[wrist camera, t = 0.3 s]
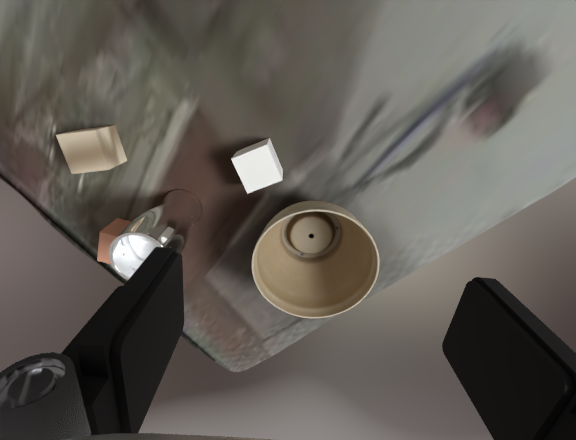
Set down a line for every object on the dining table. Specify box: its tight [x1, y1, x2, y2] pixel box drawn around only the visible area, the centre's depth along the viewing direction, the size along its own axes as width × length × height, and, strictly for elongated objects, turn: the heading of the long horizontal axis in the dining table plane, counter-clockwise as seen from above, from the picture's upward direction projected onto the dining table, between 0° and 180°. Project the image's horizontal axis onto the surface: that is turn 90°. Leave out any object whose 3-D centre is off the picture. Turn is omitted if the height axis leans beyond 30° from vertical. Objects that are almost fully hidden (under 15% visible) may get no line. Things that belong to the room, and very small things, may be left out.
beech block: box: [56, 125, 127, 174], centre depth 41 cm, size 5×5×5 cm
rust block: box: [97, 218, 131, 264], centre depth 47 cm, size 5×5×5 cm
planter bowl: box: [252, 201, 379, 318], centre depth 44 cm, size 16×16×11 cm
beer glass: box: [109, 190, 202, 280], centre depth 40 cm, size 7×7×15 cm
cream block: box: [231, 138, 283, 194], centre depth 42 cm, size 5×5×5 cm
